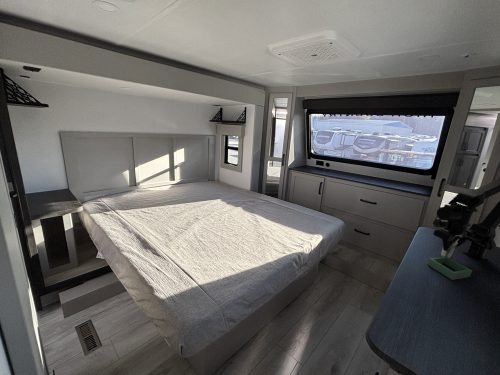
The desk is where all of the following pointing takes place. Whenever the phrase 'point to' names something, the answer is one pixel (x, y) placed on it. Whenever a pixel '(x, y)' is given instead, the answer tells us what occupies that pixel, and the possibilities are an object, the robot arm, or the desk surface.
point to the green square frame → (460, 273)
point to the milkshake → (449, 250)
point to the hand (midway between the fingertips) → (448, 249)
